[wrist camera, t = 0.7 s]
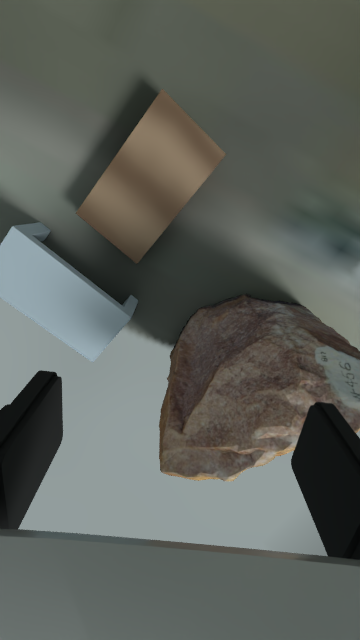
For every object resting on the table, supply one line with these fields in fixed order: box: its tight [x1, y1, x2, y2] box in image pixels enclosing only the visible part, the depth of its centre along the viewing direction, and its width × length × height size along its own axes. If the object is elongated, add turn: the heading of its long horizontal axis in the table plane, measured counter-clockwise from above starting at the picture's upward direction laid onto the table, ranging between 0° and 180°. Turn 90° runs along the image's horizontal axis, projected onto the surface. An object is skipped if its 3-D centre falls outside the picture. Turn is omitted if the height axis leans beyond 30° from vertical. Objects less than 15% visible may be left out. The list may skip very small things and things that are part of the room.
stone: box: [159, 294, 360, 481], centre depth 29 cm, size 19×11×20 cm, turn 111°
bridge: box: [0, 222, 138, 362], centre depth 33 cm, size 7×14×6 cm, turn 49°
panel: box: [76, 89, 226, 264], centre depth 31 cm, size 14×8×3 cm, turn 139°
